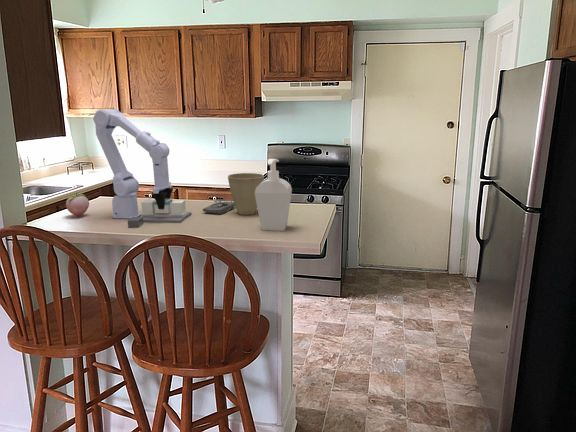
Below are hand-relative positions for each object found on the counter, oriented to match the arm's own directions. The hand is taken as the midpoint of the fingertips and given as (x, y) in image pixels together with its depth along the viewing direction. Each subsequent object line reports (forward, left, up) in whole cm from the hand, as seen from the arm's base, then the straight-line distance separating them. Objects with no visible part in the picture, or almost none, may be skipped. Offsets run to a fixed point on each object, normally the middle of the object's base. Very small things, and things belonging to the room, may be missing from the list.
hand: (163, 207), depth 194 cm
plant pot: (+32, +11, -5) cm, 34 cm away
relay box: (-7, -12, -5) cm, 15 cm away
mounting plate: (0, 0, -4) cm, 4 cm away
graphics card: (+18, +16, -5) cm, 25 cm away
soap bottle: (+47, -13, -5) cm, 49 cm away
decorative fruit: (-38, +1, -5) cm, 38 cm away
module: (0, 0, -2) cm, 2 cm away
